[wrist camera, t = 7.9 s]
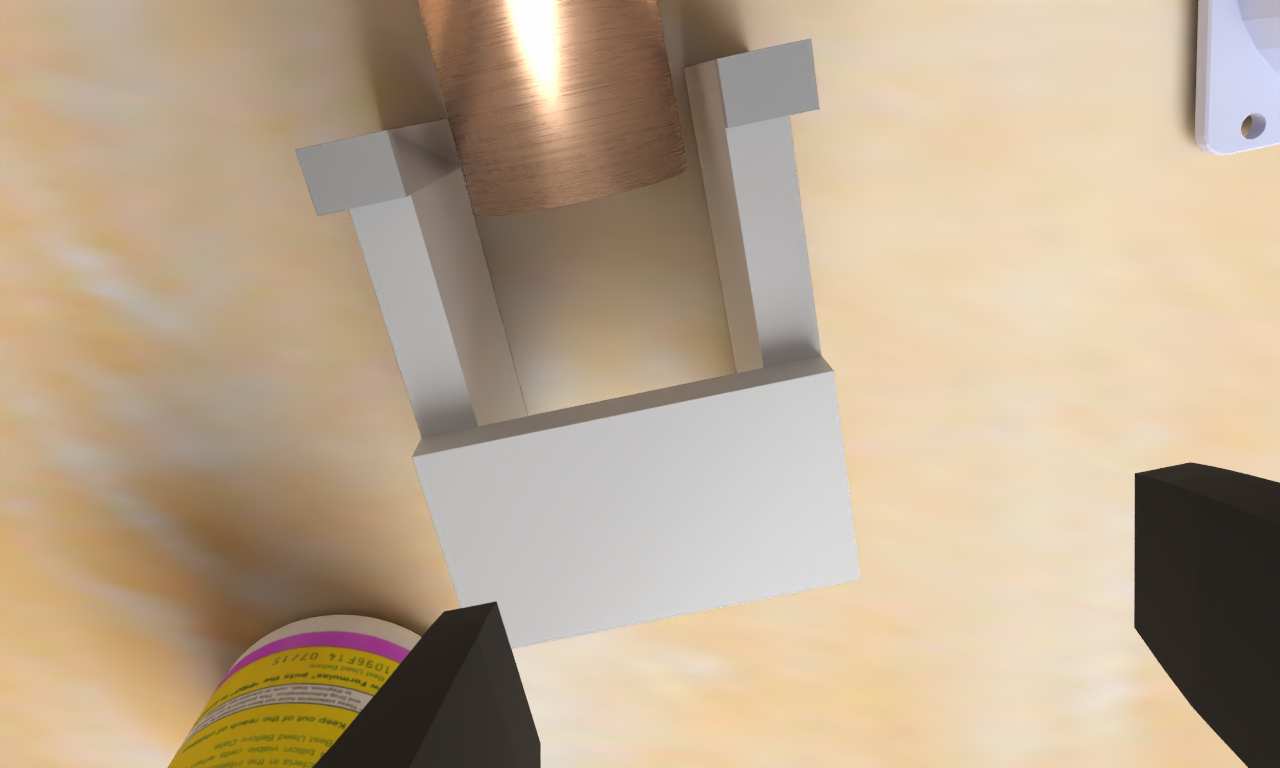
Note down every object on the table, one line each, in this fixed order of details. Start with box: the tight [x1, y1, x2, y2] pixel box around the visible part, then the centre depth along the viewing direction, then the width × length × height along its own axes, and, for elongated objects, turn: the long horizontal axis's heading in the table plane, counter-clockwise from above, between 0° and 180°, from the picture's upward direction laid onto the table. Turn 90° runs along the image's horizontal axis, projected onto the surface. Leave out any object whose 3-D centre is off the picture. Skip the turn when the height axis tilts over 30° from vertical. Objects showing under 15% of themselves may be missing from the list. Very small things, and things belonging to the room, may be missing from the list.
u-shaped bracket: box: [296, 39, 861, 649], centre depth 16 cm, size 8×9×6 cm
